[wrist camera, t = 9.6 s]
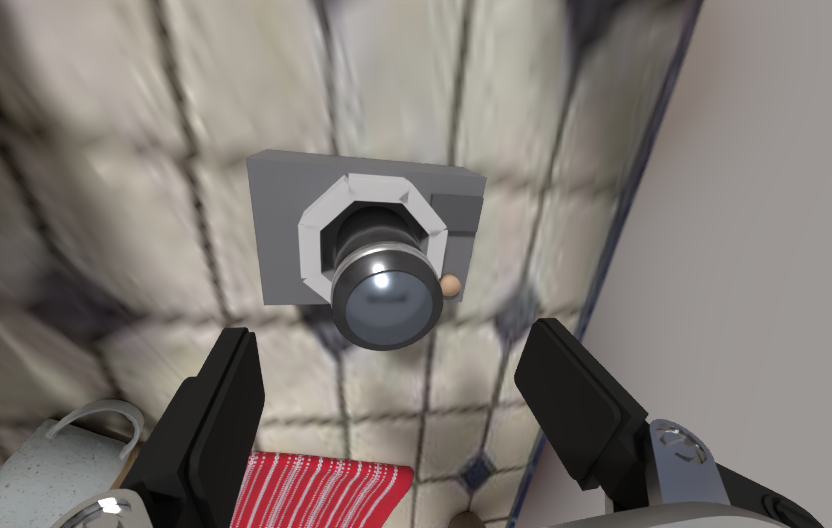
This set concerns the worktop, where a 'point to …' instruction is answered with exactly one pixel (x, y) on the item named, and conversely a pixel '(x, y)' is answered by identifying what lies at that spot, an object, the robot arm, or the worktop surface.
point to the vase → (466, 521)
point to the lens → (382, 282)
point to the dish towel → (317, 492)
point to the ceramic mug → (64, 467)
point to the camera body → (341, 196)
